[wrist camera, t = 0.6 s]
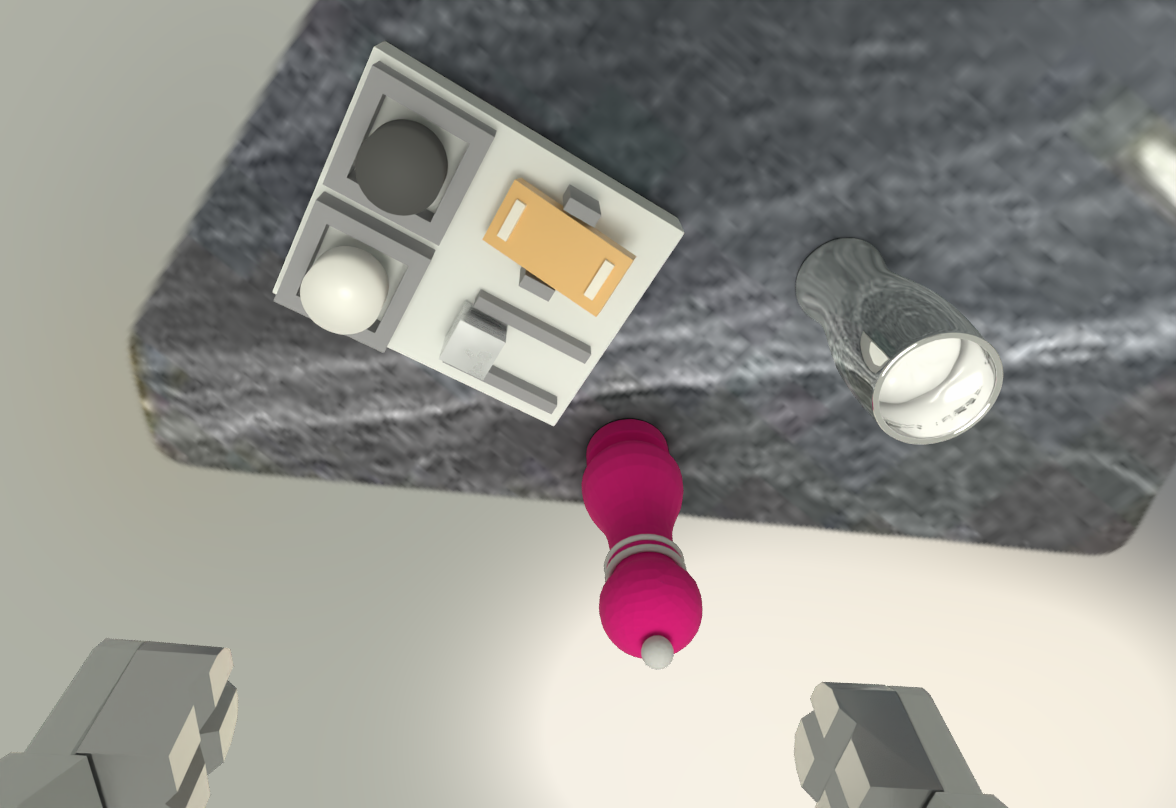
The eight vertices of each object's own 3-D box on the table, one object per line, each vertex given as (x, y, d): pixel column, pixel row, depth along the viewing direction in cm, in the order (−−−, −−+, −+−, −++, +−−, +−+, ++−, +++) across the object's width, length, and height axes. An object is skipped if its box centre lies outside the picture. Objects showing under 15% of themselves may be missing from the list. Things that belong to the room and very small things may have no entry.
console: (384, 41, 42) (362, 52, 37) (677, 217, 48) (692, 248, 43) (286, 274, 49) (256, 310, 44) (553, 404, 54) (554, 448, 50)
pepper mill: (560, 451, 57) (563, 665, 40) (631, 394, 54) (669, 596, 37) (622, 505, 60) (650, 726, 42) (693, 453, 57) (753, 664, 40)
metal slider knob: (465, 300, 47) (460, 320, 44) (508, 321, 48) (505, 342, 45) (444, 337, 48) (438, 359, 45) (486, 358, 49) (482, 380, 46)
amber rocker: (521, 177, 43) (512, 179, 41) (636, 256, 43) (632, 261, 41) (489, 236, 44) (480, 240, 43) (600, 312, 44) (595, 318, 43)
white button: (328, 232, 42) (316, 246, 40) (401, 269, 43) (393, 285, 41) (301, 294, 44) (288, 312, 42) (371, 328, 45) (362, 346, 43)
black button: (385, 102, 39) (375, 111, 37) (461, 146, 40) (456, 157, 38) (353, 176, 41) (341, 188, 39) (427, 216, 42) (420, 230, 40)
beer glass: (801, 341, 53) (881, 465, 40) (777, 253, 49) (857, 358, 36) (898, 306, 52) (1014, 422, 39) (881, 214, 48) (1001, 308, 35)
